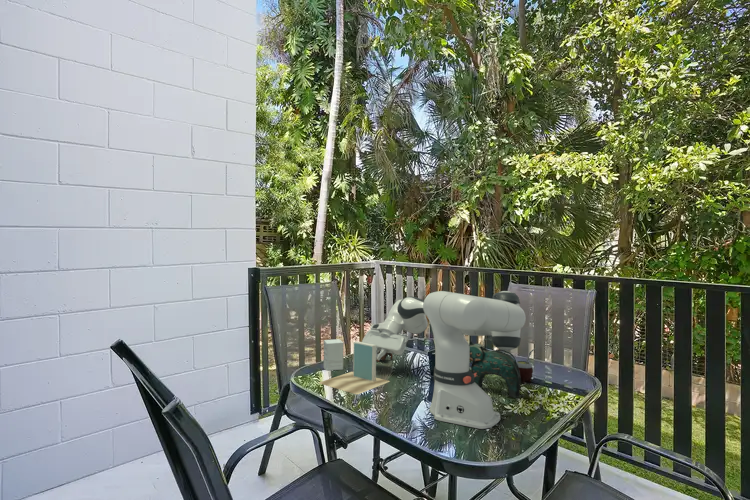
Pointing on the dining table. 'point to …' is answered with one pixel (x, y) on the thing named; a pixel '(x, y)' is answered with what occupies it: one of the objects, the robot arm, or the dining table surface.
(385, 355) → the brown animal figurine
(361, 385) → the board
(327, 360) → the supplement box
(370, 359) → the tile
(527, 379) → the mate gourd
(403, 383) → the dining table surface
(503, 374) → the ceramic cat
